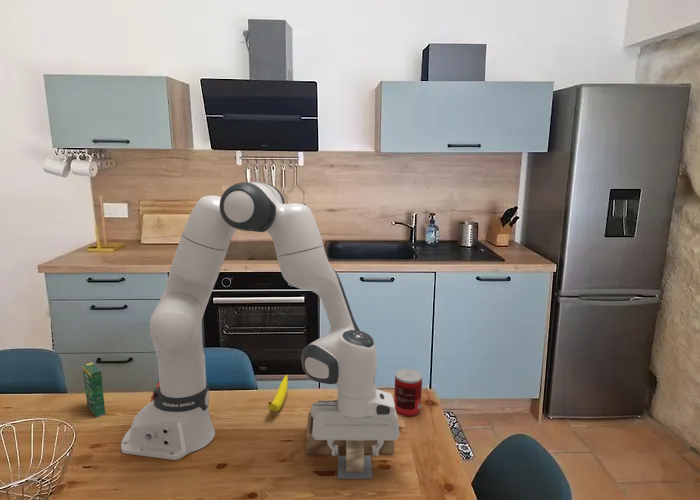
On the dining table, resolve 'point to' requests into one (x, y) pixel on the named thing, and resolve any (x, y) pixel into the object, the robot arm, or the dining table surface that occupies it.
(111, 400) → the dining table surface
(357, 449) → the block
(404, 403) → the canned food
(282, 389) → the banana
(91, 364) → the coffee box
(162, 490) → the dining table surface
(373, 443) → the crate
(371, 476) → the mat
